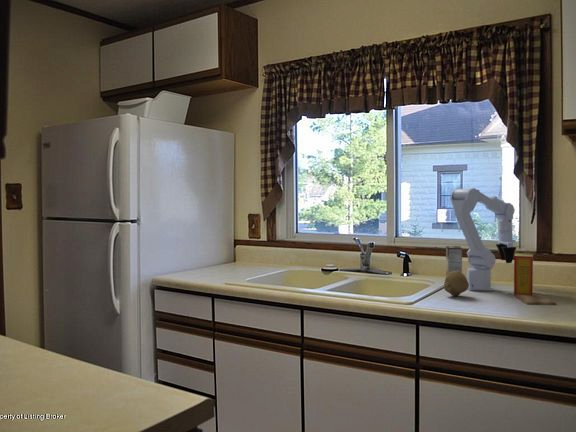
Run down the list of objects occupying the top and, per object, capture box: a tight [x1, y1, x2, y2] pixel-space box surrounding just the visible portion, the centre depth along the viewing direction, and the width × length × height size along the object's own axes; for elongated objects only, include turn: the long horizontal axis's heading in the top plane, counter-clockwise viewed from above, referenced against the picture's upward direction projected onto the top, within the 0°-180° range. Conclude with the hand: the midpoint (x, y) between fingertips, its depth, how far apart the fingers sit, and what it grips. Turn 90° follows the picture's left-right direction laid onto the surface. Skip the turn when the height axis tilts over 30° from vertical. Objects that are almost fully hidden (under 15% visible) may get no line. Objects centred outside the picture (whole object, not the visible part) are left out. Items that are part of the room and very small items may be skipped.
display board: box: [514, 294, 557, 306], centre depth 188 cm, size 10×14×1 cm
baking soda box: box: [513, 252, 534, 297], centre depth 201 cm, size 10×6×16 cm
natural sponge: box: [443, 271, 469, 297], centre depth 198 cm, size 9×9×10 cm
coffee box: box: [445, 245, 463, 277], centre depth 231 cm, size 9×6×16 cm
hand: (506, 261), depth 220 cm, fingers open, 7 cm apart
